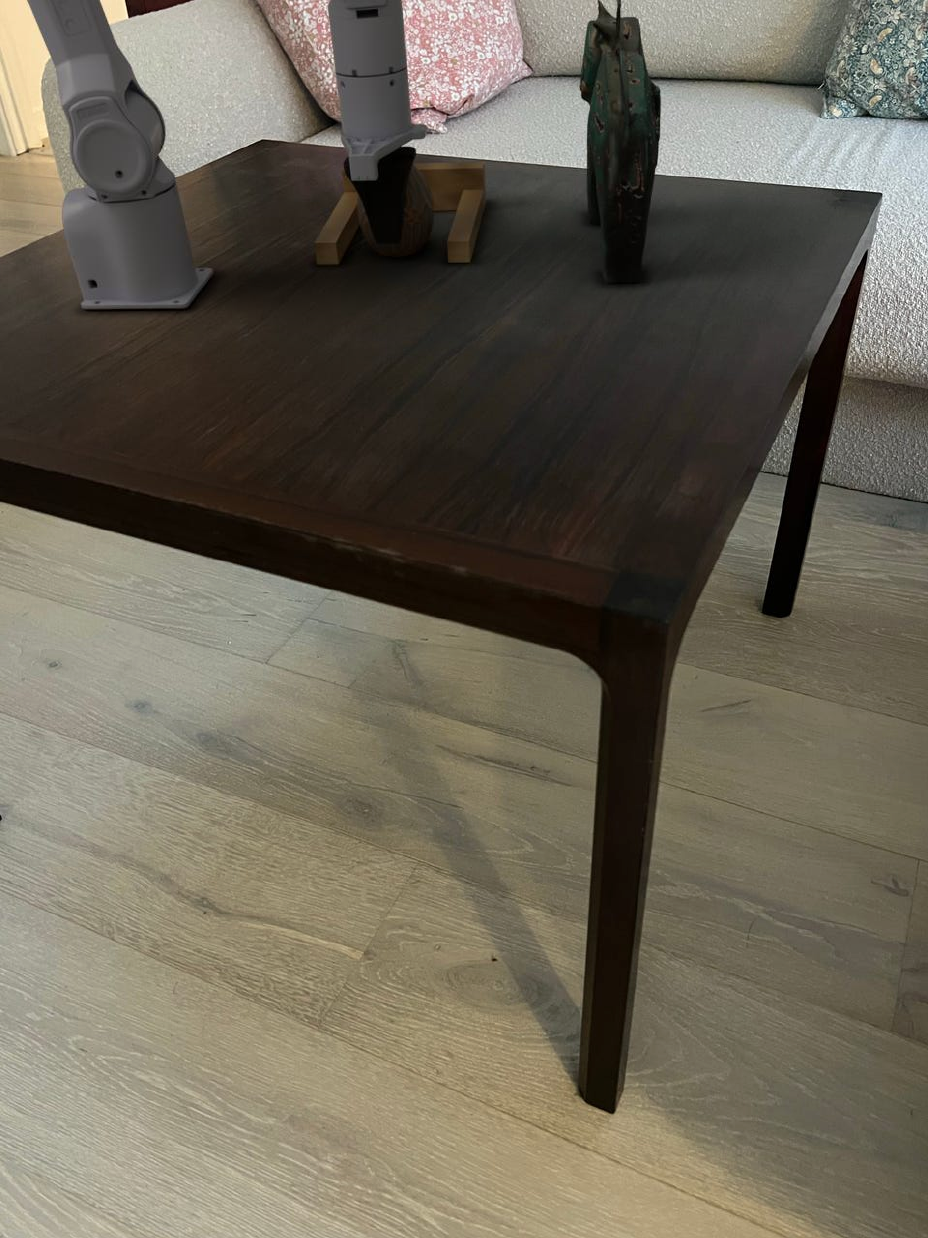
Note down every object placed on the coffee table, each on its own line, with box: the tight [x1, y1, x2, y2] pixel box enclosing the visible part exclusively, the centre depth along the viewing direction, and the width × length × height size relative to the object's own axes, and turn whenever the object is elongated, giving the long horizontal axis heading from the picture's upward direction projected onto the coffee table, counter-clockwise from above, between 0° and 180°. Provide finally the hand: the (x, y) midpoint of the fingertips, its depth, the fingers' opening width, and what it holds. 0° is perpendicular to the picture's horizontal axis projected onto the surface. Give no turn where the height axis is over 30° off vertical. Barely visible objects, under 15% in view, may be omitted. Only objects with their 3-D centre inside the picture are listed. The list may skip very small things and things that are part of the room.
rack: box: [313, 161, 487, 266], centre depth 96 cm, size 14×16×4 cm
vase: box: [357, 146, 435, 258], centre depth 91 cm, size 7×7×9 cm
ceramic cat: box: [578, 0, 662, 284], centre depth 86 cm, size 20×6×20 cm, turn 178°
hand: (388, 241), depth 89 cm, fingers closed
